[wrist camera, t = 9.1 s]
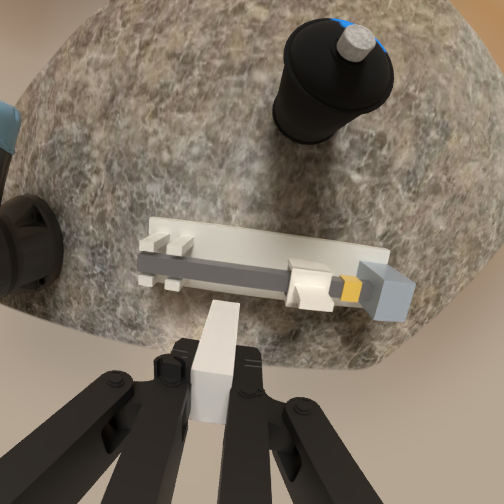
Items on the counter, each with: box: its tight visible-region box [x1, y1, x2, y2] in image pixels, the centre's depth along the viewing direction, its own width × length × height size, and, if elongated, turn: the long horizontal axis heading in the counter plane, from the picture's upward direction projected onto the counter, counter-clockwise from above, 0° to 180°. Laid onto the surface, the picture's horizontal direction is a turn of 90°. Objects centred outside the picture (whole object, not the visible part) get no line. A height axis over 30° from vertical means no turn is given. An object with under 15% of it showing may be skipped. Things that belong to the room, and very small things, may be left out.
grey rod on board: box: [137, 217, 416, 322], centre depth 31 cm, size 30×8×9 cm, turn 82°
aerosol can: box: [273, 18, 394, 145], centre depth 22 cm, size 8×8×20 cm
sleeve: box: [283, 258, 334, 312], centre depth 28 cm, size 4×4×8 cm
